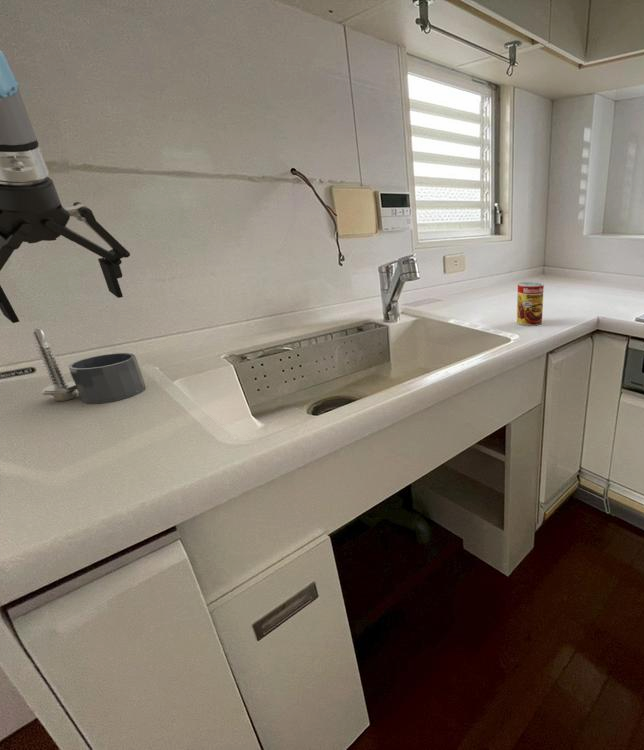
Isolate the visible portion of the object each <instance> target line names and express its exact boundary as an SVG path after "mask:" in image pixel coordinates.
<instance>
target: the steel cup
mask: <svg viewBox="0 0 644 750" xmlns="http://www.w3.org/2000/svg"><path fill="white" fill-rule="evenodd" d="M67 369H68V371H69V374H70V376H71V378H72V382H74V383H75V386H76V388H77V389H76V391H77V393H78V395H79V397H80V399H81V401H82V402H83V403H85V404H91V405H92V404H93V405H96V404H97V405H98V404H108V403H113V402H117V401H121V400H122V401H123V400H126V399H128V398H131V397H134V396H137V395H139V394H141V393H142V392H144V391H145V390H146V388H147V387H146V383H145V380H144V377H143V374H142V371H141V368H140V366H139V362H138V360H137V357H136V355H135V354H134V353H129V352H115V353H106V354H100V355H99V354H98V355H94V356H89V357H86V358H82V359H78V360H76V361H74V362H71V363H69V364H68V365H67Z"/></svg>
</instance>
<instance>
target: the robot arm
mask: <svg viewBox="0 0 644 750" xmlns="http://www.w3.org/2000/svg"><path fill="white" fill-rule="evenodd" d="M22 97H23V96H22V95H21V92H20V89H19V83H18V80H17V78H16V75H14V73H13V72H12V69H11V67H10V64H9V62H8V60H7V58H6V56H5V54H4V52H2V50H1V49H0V272H1V270H2V269H3V268H4V266H5V264H7V262H8V260H9V259H10V258H11V256H12V254H13V253H14V251H15V250H18V249H20V247H21V246H22V244H23V243H27V244H36V243H40V242H42V241H44V242H45V241H47V242H48V241H49V242H52V241H57V239H59V238H60V237H61V236H62V237H63V238H66V239H67V240H69V241H71V242H73V243H75V244H76V245H79V246H80V247H83V248H84V249H87V250H88V251H90V252H92V253H94V254H95V255H97V256H98V257H99V258H97V261H98V263H99V266H100V269H101V272H102V275H103V278H104V280H105V284H106V285H107V286H106V287H107V289H108V292H110V293H111V294H112V295H113V296H115V297H116V298H117V299H119V298H120V299H121V298H123V297H124V295H123V292H122V289H121V286H120V283H119V280H118V279H122V278H123V271H122V269H121V266H120V265H121V264H122V260H121V259H123V258H125V259H126V258H129V257H130V256H131V253H130V251H129V250H128V249H126V247H124V245H122V244H121V243H120V242H119V241H118V240H117V239H116V238H115V237H114V236H113V235H112V234H111V233H109V232H108V230H107V229H105V227H104V226H102V225H101V224H100V223H99V222H98V221H97V219H96V217H95V215H94V213H93V211H92V210H91V209H90V208H89V207H87V206H86V205H85V204H83V203H82V202H79V201H75V202H74V203H72V205H71V206H65V207H63V205H62V202H61V199H60V197H59V194H58V192H57V189H56V186H55V184H54V180H53V179H52V178H50V177H49V176H50V171H49V168H48V165H47V163H46V160H45V158H44V155H43V152H42V149H41V147H40V145H39V141H38V138H37V136H36V133H35V130H34V128H33V125H32V122H31V119H30V116H29V114H28V111H27V109H26V106H25V103H24V100H23V98H22ZM71 217H73V218H75V219H76V220H78V221H80V222H83V223H84V224H85V225H86V226H87V227H88V228H89V229H90V230H91V231H93V232H94V233H95V234H96V235H97V236H98V237H99V238H100V239H102V240H103V241H104V242H105V244H107V245H108V246H109V247H110V248H111V249H110V250H108V249H105V248H104V247H102V246H101V245H99V244H97V243H95V242H94V241H92V240H90V239H88V238H87V237H84V236H83V235H80V234H79V233H78V232H76V231H74V230H72V229H70V228H69V227H67V224H68V223H69V221H70V218H71ZM0 312H1V313H2V315H3V316H4V317H5V318H6V319H8V320H9V321H10V322H11V323H12V324H15V323H19V322H20V319H19V317H18V316H17V314H16V311H15V310H14V308H13V305H12V304H11V302H10V300H9V299H8V296H7V294H6V293H5V291H4V289H3V287H2V285H1V284H0Z"/></svg>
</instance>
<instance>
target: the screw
mask: <svg viewBox="0 0 644 750" xmlns="http://www.w3.org/2000/svg"><path fill="white" fill-rule="evenodd" d="M31 335H32V337H33V339H34V341H35V344H36V346H35V347H36V348H37V352H38V354H39V358H41V361H42V364H44V366H43V367H44V368H45V371H47V372H46V374H48V377H49V380H51V383H52V384H51V385H49V386H46V387H44V388H43V390H42V391H41V393H42V395H44V396H52V397H53V399H54V401H55V402H65V401H69V400H73V399H75V397H76V396H77V393H76V391H77V388H76V386H75V383H74V381H67V379H66V376H65V374H64V373H63V370H62V367H61V364H59V361H58V358H57V355H56V354H55V351H53V350H54V348H52V347H53V345H50V341H48V339H47V337H46V335H45V333H44V331H43V330H42V329H39V328H34V329H33V330H32V331H31Z"/></svg>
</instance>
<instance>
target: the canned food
mask: <svg viewBox="0 0 644 750" xmlns="http://www.w3.org/2000/svg"><path fill="white" fill-rule="evenodd" d="M544 286H545V284H544V283H542V282H536V281H524V282H518V283H517V304H516V323H517V324H518V325H521V326H527V327H533V326H540V325H542V324H543V308H544V306H543V305H544V289H545V288H544Z"/></svg>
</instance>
